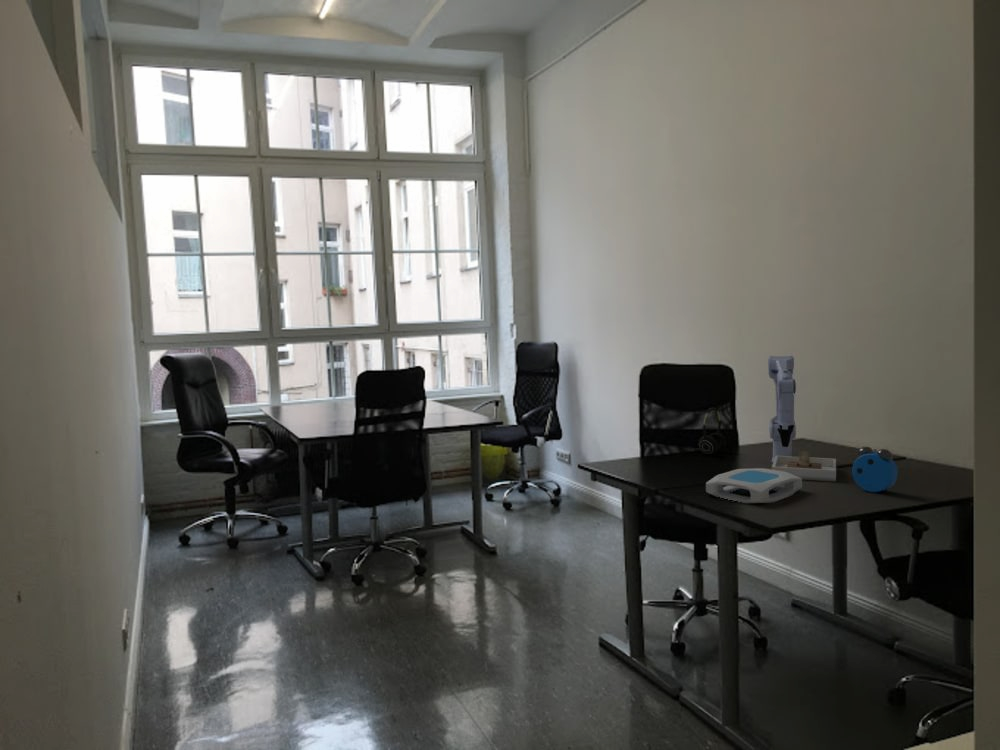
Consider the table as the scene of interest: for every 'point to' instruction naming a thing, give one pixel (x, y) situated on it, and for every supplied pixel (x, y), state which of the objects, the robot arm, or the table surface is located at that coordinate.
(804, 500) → the table surface
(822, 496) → the table surface
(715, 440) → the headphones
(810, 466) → the bore plate
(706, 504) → the table surface
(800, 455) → the peg
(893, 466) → the alarm clock
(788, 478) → the white and blue housing
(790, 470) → the tray
